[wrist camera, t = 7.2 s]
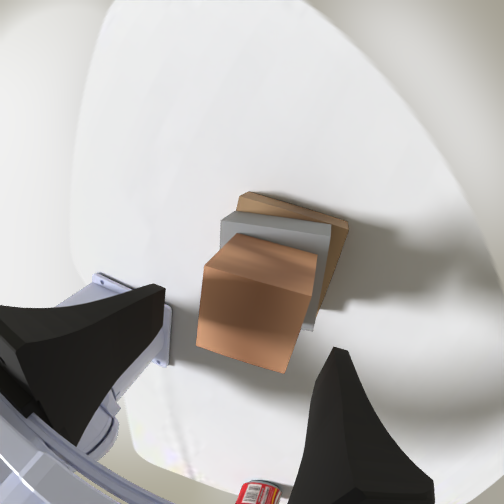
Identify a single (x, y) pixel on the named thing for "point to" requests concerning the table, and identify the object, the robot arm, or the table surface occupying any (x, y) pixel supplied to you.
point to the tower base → (283, 209)
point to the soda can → (259, 493)
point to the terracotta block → (255, 301)
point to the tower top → (285, 243)
